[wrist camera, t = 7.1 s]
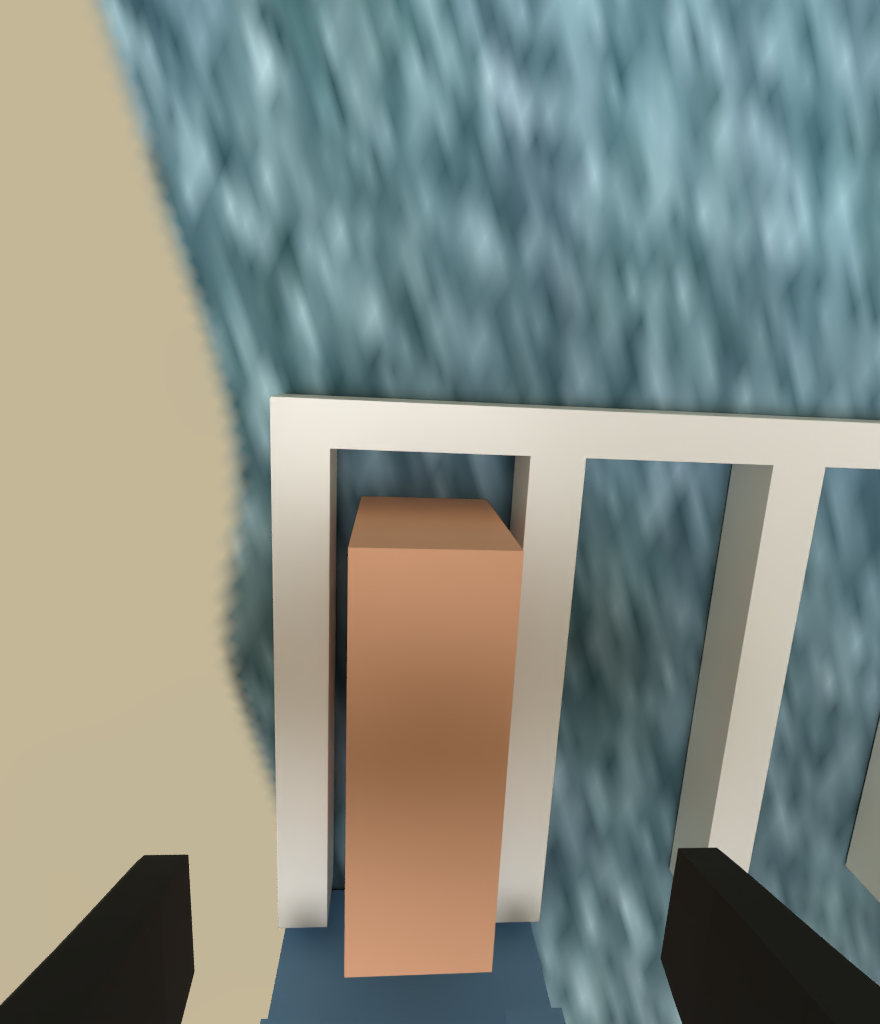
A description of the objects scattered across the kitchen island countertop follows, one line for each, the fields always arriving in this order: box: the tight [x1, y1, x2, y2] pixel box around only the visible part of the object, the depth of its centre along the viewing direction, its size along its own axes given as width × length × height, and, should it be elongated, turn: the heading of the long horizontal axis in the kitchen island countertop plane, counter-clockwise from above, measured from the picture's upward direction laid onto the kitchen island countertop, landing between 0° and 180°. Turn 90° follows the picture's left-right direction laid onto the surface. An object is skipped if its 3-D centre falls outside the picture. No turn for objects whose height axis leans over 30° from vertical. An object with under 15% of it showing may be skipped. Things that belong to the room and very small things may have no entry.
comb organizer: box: [270, 394, 880, 928], centre depth 15 cm, size 17×13×2 cm
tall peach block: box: [344, 496, 524, 978], centre depth 13 cm, size 3×9×4 cm, turn 178°
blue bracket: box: [260, 890, 565, 1024], centre depth 15 cm, size 6×2×5 cm, turn 87°
